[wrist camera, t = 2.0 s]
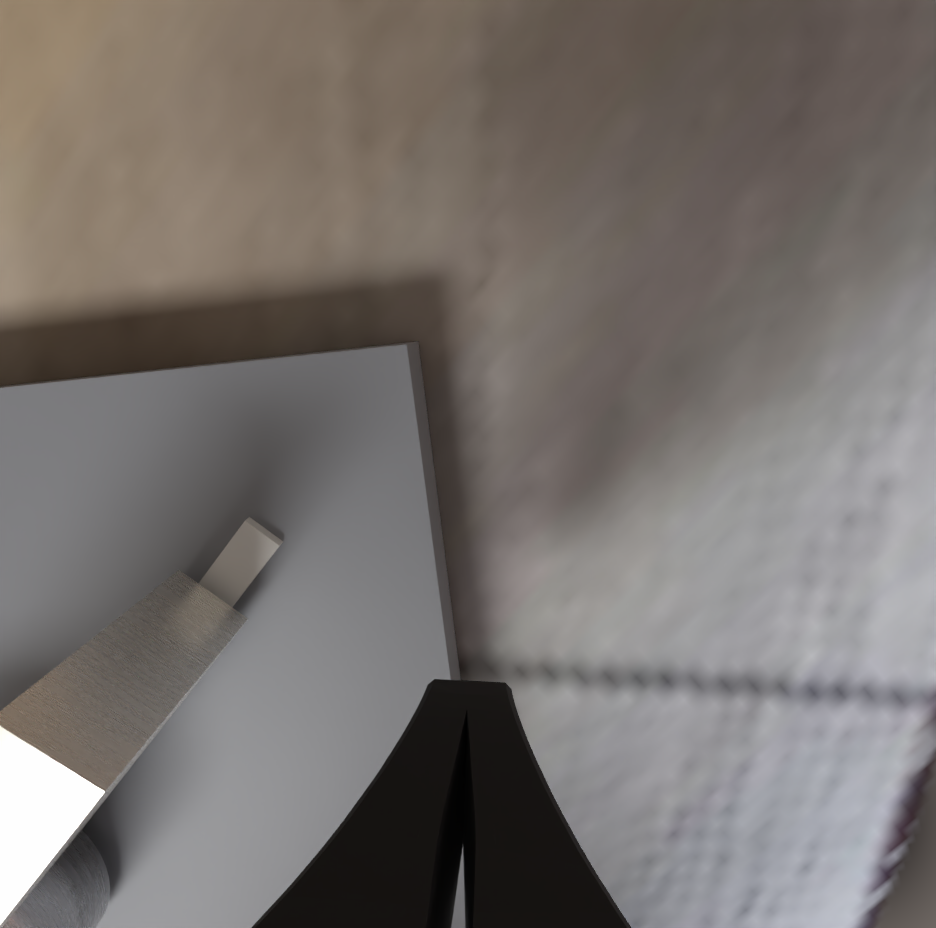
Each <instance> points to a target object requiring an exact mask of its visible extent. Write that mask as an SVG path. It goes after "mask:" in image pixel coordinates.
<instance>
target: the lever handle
mask: <svg viewBox="0 0 936 928" xmlns="http://www.w3.org/2000/svg"><path fill="white" fill-rule="evenodd" d="M247 619H248V618H246V617H245V616H244V615H242V614H241V613H239V612H238V611H237V610H235V609H234V608H232V607H231V606H229V605H228V604H227V603H225V602H224V601H222V600H221V599H219V598H218V597H217V596H215V595H214V594H212V593H211V592H209V591H208V590H207V589H205V588H204V587H202V586H201V585H199V584H198V583H197V582H195V581H194V580H192V579H191V578H190V577H188V576H187V575H185V574H184V573H182V572H181V571H180V570H178V571H177V572H176V573H174V574H173V575H172V576H171V577H169V578H168V579H167V580H166V581H164V582H163V583H162V584H161V585H159V586H158V587H157V588H155V589H154V590H153V591H152V592H150V593H149V594H148V595H147V596H145V597H144V598H143V599H142V600H140V601H139V602H138V603H136V604H135V605H134V606H133V607H131V608H130V609H129V610H128V611H126V612H125V613H124V614H123V615H121V616H120V617H119V618H117V619H116V620H115V621H114V622H112V623H111V624H110V625H109V626H107V627H106V628H105V629H104V630H102V631H101V632H100V633H98V634H97V635H96V636H95V637H93V638H92V639H91V640H90V641H88V642H87V643H86V644H85V645H83V646H82V647H81V648H79V649H78V650H77V651H76V652H74V653H73V654H72V655H71V656H69V657H68V658H67V659H66V660H64V661H63V662H62V663H60V664H59V665H58V666H57V667H55V668H54V669H53V670H52V671H50V672H49V673H48V674H47V675H45V676H44V677H43V678H41V679H40V680H39V681H38V682H36V683H35V684H34V685H33V686H31V687H30V688H29V689H27V690H26V691H25V692H24V693H22V694H21V695H20V696H19V697H17V698H16V699H15V700H14V701H12V702H11V703H10V704H8V705H7V706H6V707H5V708H3V709H2V710H1V711H0V928H96V927H97V925H98V924H99V922H100V921H101V919H102V918H103V916H104V914H105V912H106V910H107V907H108V903H109V899H110V879H109V874H108V871H107V867H106V865H105V862H104V860H103V858H102V855H101V854H100V852H99V850H98V849H97V847H96V845H95V844H94V843H93V841H92V840H91V839H90V838H89V836H88V835H87V834H86V833H85V832H84V831H83V830H82V829H83V827H84V826H85V825H86V824H87V822H88V821H89V820H90V818H91V817H92V816H93V815H94V813H95V812H96V811H97V810H98V808H99V807H100V806H101V805H102V803H103V802H104V801H105V799H106V798H107V797H108V796H109V794H110V793H111V792H112V791H113V789H114V788H115V787H116V786H117V784H118V783H119V782H120V780H121V779H122V778H123V777H124V775H125V774H126V773H127V772H128V770H129V769H130V768H131V766H132V765H133V764H134V763H135V761H136V760H137V759H138V758H139V756H140V755H141V754H142V753H143V751H144V750H145V749H146V747H147V746H148V745H149V744H150V742H151V741H152V740H153V739H154V737H155V736H156V735H157V734H158V732H159V731H160V730H161V728H162V727H163V726H164V725H165V723H166V722H167V721H168V720H169V718H170V717H171V716H172V714H173V713H174V712H175V711H176V709H177V708H178V707H179V706H180V704H181V703H182V702H183V701H184V699H185V698H186V697H187V695H188V694H189V693H190V692H191V690H192V689H193V688H194V687H195V685H196V684H197V683H198V682H199V680H200V679H201V678H202V676H203V675H204V674H205V673H206V671H207V670H208V669H209V668H210V666H211V665H212V664H213V663H214V661H215V660H216V659H217V657H218V656H219V655H220V654H221V652H222V651H223V650H224V649H225V647H226V646H227V645H228V643H229V642H230V641H231V640H232V638H233V637H234V636H235V635H236V633H237V632H238V631H239V630H240V628H241V627H242V626H243V624H244V623H245V622H246V621H247Z"/></svg>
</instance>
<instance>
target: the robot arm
mask: <svg viewBox="0 0 936 928" xmlns="http://www.w3.org/2000/svg"><path fill="white" fill-rule="evenodd" d="M462 848H463V862H464V900H465V928H631V926H630V925H629V923H628V922H627V921H626V919H625V918H624V916H623V915H622V913H621V912H620V910H619V908H618V907H617V905H616V904H615V902H614V901H613V899H612V897H611V896H610V894H609V893H608V891H607V890H606V888H605V886H604V885H603V883H602V882H601V880H600V879H599V877H598V875H597V874H596V872H595V870H594V869H593V867H592V865H591V864H590V862H589V860H588V859H587V857H586V855H585V853H584V852H583V850H582V848H581V847H580V845H579V843H578V841H577V839H576V838H575V836H574V834H573V832H572V830H571V828H570V827H569V825H568V823H567V821H566V819H565V818H564V816H563V814H562V812H561V810H560V808H559V806H558V804H557V802H556V800H555V798H554V796H553V794H552V792H551V790H550V788H549V786H548V784H547V782H546V780H545V778H544V775H543V773H542V771H541V769H540V767H539V765H538V763H537V761H536V758H535V756H534V754H533V752H532V749H531V747H530V745H529V742H528V740H527V737H526V734H525V732H524V729H523V727H522V724H521V721H520V718H519V716H518V713H517V710H516V706H515V703H514V699H513V695H512V690H511V688H510V687H509V686H508V685H507V684H506V683H500V682H481V681H463V680H444V679H434V680H433V681H431V682H430V683H429V684H428V685H427V688H426V690H425V693H424V695H423V697H422V699H421V701H420V703H419V705H418V707H417V709H416V711H415V713H414V715H413V716H412V718H411V720H410V722H409V724H408V725H407V727H406V729H405V731H404V732H403V734H402V736H401V737H400V739H399V740H398V742H397V744H396V745H395V747H394V748H393V750H392V751H391V753H390V755H389V756H388V758H387V759H386V761H385V762H384V764H383V766H382V767H381V769H380V770H379V772H378V773H377V775H376V776H375V778H374V779H373V781H372V782H371V783H370V785H369V786H368V787H367V789H366V790H365V792H364V793H363V794H362V796H361V797H360V799H359V800H358V801H357V803H356V804H355V805H354V807H353V808H352V810H351V811H350V812H349V814H348V815H347V816H346V818H345V819H344V821H343V822H342V823H341V824H340V826H339V827H338V828H337V830H336V831H335V832H334V833H333V835H332V836H331V837H330V838H329V840H328V841H327V842H326V843H325V845H324V846H323V847H322V848H321V850H320V851H319V852H318V853H317V854H316V856H315V857H314V858H313V859H312V860H311V862H310V863H309V864H308V865H307V866H306V867H305V869H304V870H303V871H302V872H301V873H300V875H299V876H298V877H297V878H296V879H295V880H294V882H293V883H292V884H291V885H290V886H289V887H288V888H287V889H286V891H285V892H284V893H283V894H282V895H281V896H280V897H279V898H278V899H277V900H276V901H275V902H274V904H273V905H272V906H271V907H270V908H269V909H268V910H267V911H266V912H265V913H264V914H263V915H262V917H261V918H260V919H259V920H258V921H257V922H256V923H255V924H254V925H253V926H252V927H251V928H451V926H452V919H453V912H454V905H455V898H456V891H457V884H458V877H459V869H460V862H461V855H462Z"/></svg>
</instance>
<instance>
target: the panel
mask: <svg viewBox="0 0 936 928" xmlns="http://www.w3.org/2000/svg"><path fill="white" fill-rule="evenodd" d="M178 570H180V571H181V572H182V573H184V574H185V575H187V576H188V577H190V578H191V579H192V580H194V581H195V582H197V583H198V584H199V585H201V586H202V587H204V588H205V589H207V590H208V591H209V592H211V593H212V594H214V595H215V596H217V597H218V598H219V599H221V600H222V601H224V602H225V603H227V604H228V605H229V606H231V607H232V608H234V609H235V610H237V611H238V612H239V613H241V614H242V615H244V616H245V617H246V618H248V619H247V621H246V622H245V623H244V624H243V626H242V627H241V628H240V630H239V631H238V632H237V633H236V635H235V636H234V637H233V638H232V640H231V641H230V642H229V643H228V645H227V646H226V647H225V649H224V650H223V651H222V652H221V654H220V655H219V656H218V657H217V659H216V660H215V661H214V663H213V664H212V665H211V666H210V668H209V669H208V670H207V671H206V673H205V674H204V675H203V676H202V678H201V679H200V680H199V682H198V683H197V684H196V685H195V687H194V688H193V689H192V690H191V692H190V693H189V694H188V695H187V697H186V698H185V699H184V701H183V702H182V703H181V704H180V706H179V707H178V708H177V709H176V711H175V712H174V713H173V714H172V716H171V717H170V718H169V720H168V721H167V722H166V723H165V725H164V726H163V727H162V728H161V730H160V731H159V732H158V734H157V735H156V736H155V737H154V739H153V740H152V741H151V742H150V744H149V745H148V746H147V747H146V749H145V750H144V751H143V753H142V754H141V755H140V756H139V758H138V759H137V760H136V761H135V763H134V764H133V765H132V766H131V768H130V769H129V770H128V772H127V773H126V774H125V775H124V777H123V778H122V779H121V780H120V782H119V783H118V784H117V786H116V787H115V788H114V789H113V791H112V792H111V793H110V794H109V796H108V797H107V798H106V799H105V801H104V802H103V803H102V805H101V806H100V807H99V808H98V810H97V811H96V812H95V813H94V815H93V816H92V817H91V818H90V820H89V821H88V822H87V824H86V825H85V826H84V827H83V829H82V830H83V831H84V832H85V833H86V834H87V835H88V836H89V838H90V839H91V840H92V841H93V843H94V844H95V845H96V847H97V849H98V850H99V852H100V854H101V855H102V858H103V860H104V862H105V865H106V867H107V871H108V874H109V879H110V899H109V903H108V907H107V910H106V912H105V914H104V916H103V918H102V919H101V921H100V922H99V924H98V925H97V927H96V928H251V927H252V926H253V925H254V924H255V923H256V922H257V921H258V920H259V919H260V918H261V917H262V915H263V914H264V913H265V912H266V911H267V910H268V909H269V908H270V907H271V906H272V905H273V904H274V902H275V901H276V900H277V899H278V898H279V897H280V896H281V895H282V894H283V893H284V892H285V891H286V889H287V888H288V887H289V886H290V885H291V884H292V883H293V882H294V880H295V879H296V878H297V877H298V876H299V875H300V873H301V872H302V871H303V870H304V869H305V867H306V866H307V865H308V864H309V863H310V862H311V860H312V859H313V858H314V857H315V856H316V854H317V853H318V852H319V851H320V850H321V848H322V847H323V846H324V845H325V843H326V842H327V841H328V840H329V838H330V837H331V836H332V835H333V833H334V832H335V831H336V830H337V828H338V827H339V826H340V824H341V823H342V822H343V821H344V819H345V818H346V816H347V815H348V814H349V812H350V811H351V810H352V808H353V807H354V805H355V804H356V803H357V801H358V800H359V799H360V797H361V796H362V794H363V793H364V792H365V790H366V789H367V787H368V786H369V785H370V783H371V782H372V781H373V779H374V778H375V776H376V775H377V773H378V772H379V770H380V769H381V767H382V766H383V764H384V762H385V761H386V759H387V758H388V756H389V755H390V753H391V751H392V750H393V748H394V747H395V745H396V744H397V742H398V740H399V739H400V737H401V736H402V734H403V732H404V731H405V729H406V727H407V725H408V724H409V722H410V720H411V718H412V716H413V715H414V713H415V711H416V709H417V707H418V705H419V703H420V701H421V699H422V697H423V695H424V693H425V690H426V688H427V685H428V684H429V683H430V682H431V681H433V680H434V679H444V680H461V677H460V669H459V661H458V653H457V645H456V637H455V629H454V621H453V613H452V605H451V598H450V590H449V582H448V574H447V566H446V558H445V550H444V542H443V534H442V526H441V518H440V510H439V502H438V494H437V486H436V478H435V470H434V462H433V454H432V446H431V438H430V430H429V423H428V415H427V407H426V399H425V391H424V383H423V375H422V367H421V359H420V351H419V343H418V341H416V342H407V343H397V344H388V345H379V346H369V347H360V348H351V349H342V350H332V351H323V352H314V353H304V354H295V355H286V356H276V357H267V358H258V359H248V360H239V361H230V362H221V363H211V364H202V365H193V366H183V367H174V368H165V369H155V370H146V371H137V372H127V373H118V374H109V375H100V376H90V377H81V378H72V379H62V380H53V381H44V382H34V383H25V384H16V385H7V386H0V711H1V710H2V709H3V708H5V707H6V706H7V705H8V704H10V703H11V702H12V701H14V700H15V699H16V698H17V697H19V696H20V695H21V694H22V693H24V692H25V691H26V690H27V689H29V688H30V687H31V686H33V685H34V684H35V683H36V682H38V681H39V680H40V679H41V678H43V677H44V676H45V675H47V674H48V673H49V672H50V671H52V670H53V669H54V668H55V667H57V666H58V665H59V664H60V663H62V662H63V661H64V660H66V659H67V658H68V657H69V656H71V655H72V654H73V653H74V652H76V651H77V650H78V649H79V648H81V647H82V646H83V645H85V644H86V643H87V642H88V641H90V640H91V639H92V638H93V637H95V636H96V635H97V634H98V633H100V632H101V631H102V630H104V629H105V628H106V627H107V626H109V625H110V624H111V623H112V622H114V621H115V620H116V619H117V618H119V617H120V616H121V615H123V614H124V613H125V612H126V611H128V610H129V609H130V608H131V607H133V606H134V605H135V604H136V603H138V602H139V601H140V600H142V599H143V598H144V597H145V596H147V595H148V594H149V593H150V592H152V591H153V590H154V589H155V588H157V587H158V586H159V585H161V584H162V583H163V582H164V581H166V580H167V579H168V578H169V577H171V576H172V575H173V574H174V573H176V572H177V571H178ZM451 928H465V900H464V862H463V848H462V855H461V862H460V869H459V877H458V884H457V891H456V898H455V905H454V912H453V919H452V926H451Z"/></svg>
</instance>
